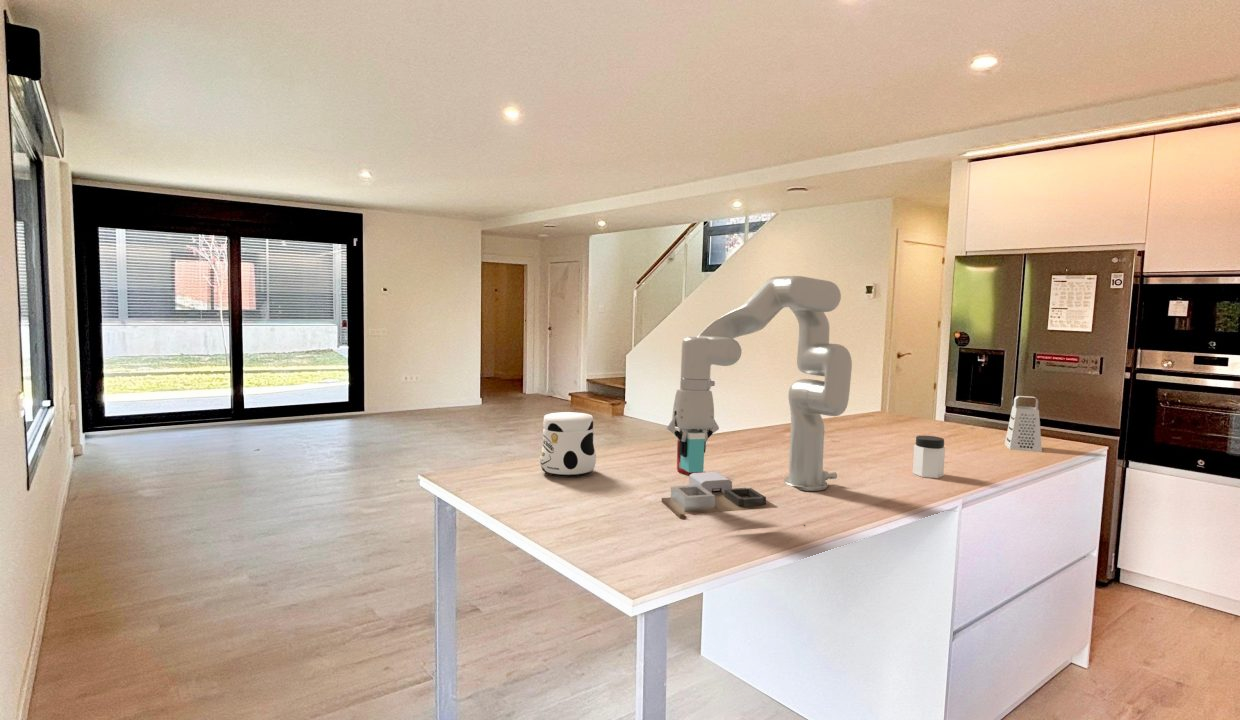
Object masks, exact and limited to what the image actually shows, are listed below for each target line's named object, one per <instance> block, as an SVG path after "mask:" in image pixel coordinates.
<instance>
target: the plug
mask: <svg viewBox="0 0 1240 720" xmlns="http://www.w3.org/2000/svg"><path fill="white" fill-rule="evenodd" d="M686 442H687V457H683V456H681V460H680V467H681V468H683V469H684V470H686V471H687V472H701V473H704V468H705V467H704V463H705V462H704V461H705V453H704V444H705V433H704V432H702V431H700V430H688V433H687V437H686Z"/></svg>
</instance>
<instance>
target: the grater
mask: <svg viewBox="0 0 1240 720" xmlns="http://www.w3.org/2000/svg"><path fill="white" fill-rule="evenodd" d="M1019 398H1028V399H1029V398H1031V399H1032V398H1033V399H1035V407H1034V406H1024V405H1023V406H1022V405H1021V406H1020V405H1017V399H1019ZM1041 433H1042V432H1041V421H1040V410H1039V400H1038V398H1037V397H1035V396H1027V395H1025V396H1024V395H1016V396H1015V397H1014V399H1013V405H1012V408H1011V412H1010V417H1009V421H1008V427H1007V431H1006V436H1005V441H1004V445H1005V446H1006V448H1007V449H1009V450H1010V451H1025V452H1034V453H1035V452H1037V453H1043V450H1042V449H1043V448H1042V435H1041ZM1031 447H1032V448H1031Z"/></svg>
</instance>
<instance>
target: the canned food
mask: <svg viewBox="0 0 1240 720" xmlns="http://www.w3.org/2000/svg"><path fill="white" fill-rule="evenodd" d="M679 441H680V440H679V439H678V438H677V442H676V443H677V444H676V445H677V449H676V450H677V451H676V455H677V456H676V469H677V471H676V472H677V473H679V474H682V475H686V476H690V475H691V474H693V473H702V472H687V471H686V470H684V469H683V468H681V467H680V460H681V454H680V453H679Z"/></svg>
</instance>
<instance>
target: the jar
mask: <svg viewBox="0 0 1240 720" xmlns="http://www.w3.org/2000/svg"><path fill="white" fill-rule="evenodd" d="M945 454H946V447H945V439H944V438H943V437H939V436H935V435H917V436H916V437H915V444H914V446H913V462H912V464H913V465H912V474H913V475H916V476H919V477H921V478H929V479H939V478H942V477H943V476H944V472H945V471H944V469H945V457H946V456H945Z"/></svg>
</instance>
